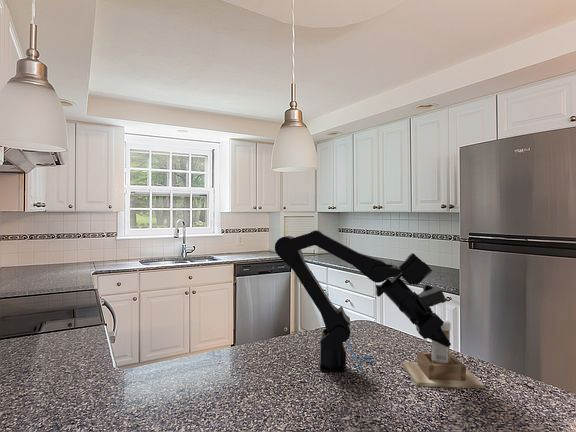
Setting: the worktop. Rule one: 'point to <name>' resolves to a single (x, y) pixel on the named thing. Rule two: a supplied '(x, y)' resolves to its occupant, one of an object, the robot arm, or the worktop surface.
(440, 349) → the sprinkles bottle
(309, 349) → the worktop surface
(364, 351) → the worktop surface
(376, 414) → the worktop surface
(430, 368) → the bottle stand
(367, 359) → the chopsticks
